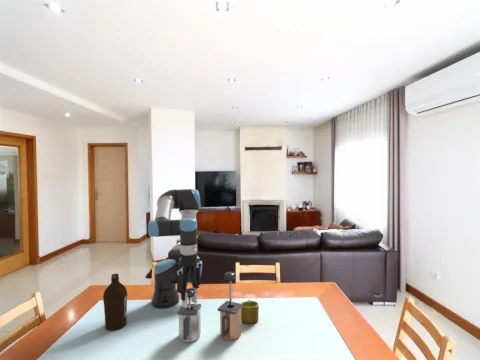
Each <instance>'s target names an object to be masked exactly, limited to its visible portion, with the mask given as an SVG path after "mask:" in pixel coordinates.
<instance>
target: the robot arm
mask: <svg viewBox="0 0 480 360" xmlns="http://www.w3.org/2000/svg"><path fill="white" fill-rule="evenodd" d="M156 201H157V202H156V207H157V209H156V213H155V218H154V219H153V220H149V221H148V224H147V233H148V236H149V237H150V238H151V237H153V238H155V237H156V238H158V237H177V236H178V237H179V240H180V241H179V251H180V252H179V253H180V257H179V261H178V262H177V261H176V260H175V259H171V258H168V259H164V260H161V261H158V262H157V263H155V265H154V270H153V274H154V291H153V294H152V298H151V306H152V307H153V308H157V309H168V308H171V307H172V308H173V307H174V306H176V305H178V304H179V303H180V300H181V306H182V307H185V308H188V298H187V293H186V289H188V288H187V287H188V284H190V283H191V286H192V287H191V288H192V289H195V296H193V297H191V303H193V304H198V300H197V296H198V289H199V288H200V286H201V283H202V279H201V278H202V271H203V261H202V260H200V258H201V257H199V255H198V221H197V213H199V209H201V208H202V205H201V197H200V192H199V190H198V189H195V188H192V189H191V188H187V189H184V188H183V189H170V190H168V191H165V192H163V194H161V195H160V196H159V198H158V199H157V200H156ZM172 210H178V212H179V214H181V219H171V217H172ZM179 294H180V296H179Z"/></svg>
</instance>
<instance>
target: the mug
mask: <svg viewBox="0 0 480 360" xmlns="http://www.w3.org/2000/svg"><path fill="white" fill-rule="evenodd" d="M240 304H243V307H242V308H241V322H243V323H244V324H245V323H246V324H253V323H254V324H255V323H257V322H258V321H259V319H260V318H259V310H260V309H259V308H260V307H259V306H260V305H259V303H258V302H257V301H255V300H251V299H247V301H243V302H240Z"/></svg>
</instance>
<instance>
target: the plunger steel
mask: <svg viewBox="0 0 480 360" xmlns="http://www.w3.org/2000/svg"><path fill="white" fill-rule="evenodd" d="M186 293H187V300H188V310H191V304H192V302H191V297H193V296H195V289H192V287H190V288H187V289H186Z"/></svg>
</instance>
